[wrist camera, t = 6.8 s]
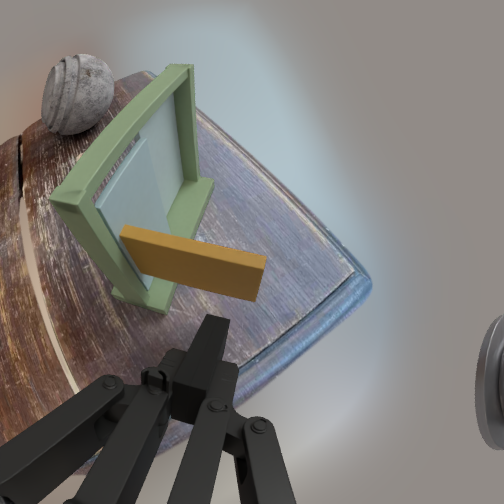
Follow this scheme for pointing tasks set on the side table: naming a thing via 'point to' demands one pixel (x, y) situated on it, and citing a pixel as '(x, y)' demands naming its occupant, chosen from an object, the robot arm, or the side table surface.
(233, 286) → the window pane
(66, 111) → the decorative orb
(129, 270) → the window frame
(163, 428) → the robot arm
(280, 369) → the side table surface
